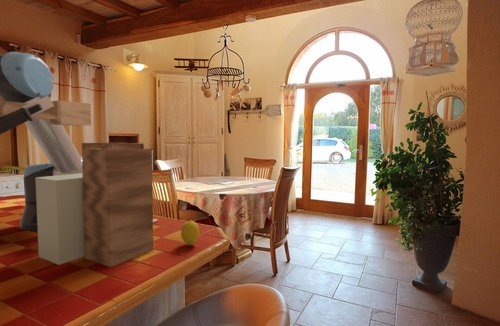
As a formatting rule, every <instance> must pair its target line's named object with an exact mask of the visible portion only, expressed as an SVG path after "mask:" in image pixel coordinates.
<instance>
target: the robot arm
mask: <svg viewBox="0 0 500 326" xmlns="http://www.w3.org/2000/svg"><path fill="white" fill-rule="evenodd" d="M53 77H54V76H53V74H52V71H51V70H50V67H48V65H47V64H46V62H45V61H44V60H42V59H41V58H40V57H38V56H37V55H34V54H32V53H28V52H20V51H10V52H9V51H8V52H0V99H1V102H3V101H9V102H20V103H30V104H28V105H25V106H23V107H22V108H21V109H19V110H17V111H14V112H12V113H10V114H7V115H5V116H2V117H0V135H2V134H4V133H6V132H8V131H10V130H12V129H14V128H17V127H18V126H20V125H23V124H24V125H26V128H27V129H28V130H29V131H30V134H31V135H32V136H33V138H34V140H35V141H36V142H37V143H38V145H39V147H40V148H41V150H42V151H43V153H44V155H46V157H47V159H48V160H49V163H48V162H47V163H40V164H29V165H27V166H25V167H24V170H23V177H22V178H23V188H24V189H23V191H24V210H23V213H22V215H21V217H20V221H19V228H20V229H21V230H24V231H38V225H37V201H36V177H47V176H58V175H68V174H79V173H82V155H81V154H79V152H78V149H77V148H76V146H75V145H74V143H73V141H72V139H71V138H70V136H69V134H68V132H67V130H66V128H65V127H64V125H49V124H47V120H46V119H33V118H32V116H34V115H37V114H39V113H41V112H43V111H45V110H47V109H49V108H51V107H53V106H54V105H53V103H52V101H53V100H51V98H52V97H53V96H52V95H53V94H52V92H53V90H54V82H53V81H54V78H53Z"/></svg>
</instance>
